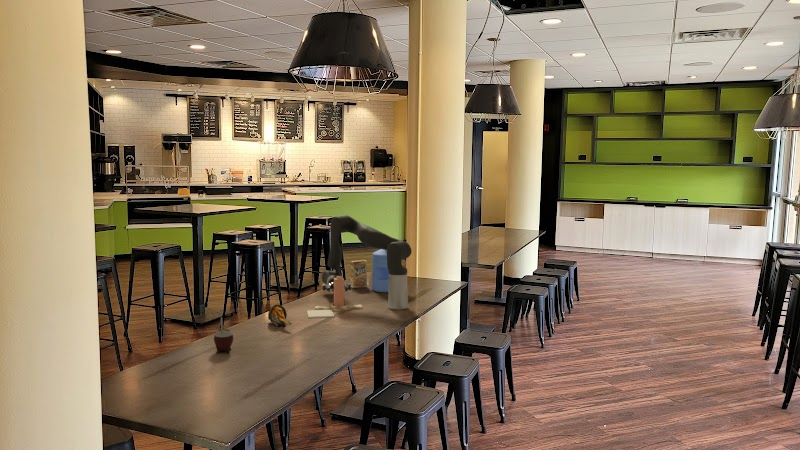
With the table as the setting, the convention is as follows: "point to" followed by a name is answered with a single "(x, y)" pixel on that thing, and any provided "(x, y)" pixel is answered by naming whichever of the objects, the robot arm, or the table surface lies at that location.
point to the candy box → (358, 273)
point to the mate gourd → (223, 339)
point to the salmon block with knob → (338, 291)
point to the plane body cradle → (338, 307)
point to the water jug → (380, 271)
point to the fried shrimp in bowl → (278, 315)
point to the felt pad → (319, 313)
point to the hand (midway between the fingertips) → (337, 289)
